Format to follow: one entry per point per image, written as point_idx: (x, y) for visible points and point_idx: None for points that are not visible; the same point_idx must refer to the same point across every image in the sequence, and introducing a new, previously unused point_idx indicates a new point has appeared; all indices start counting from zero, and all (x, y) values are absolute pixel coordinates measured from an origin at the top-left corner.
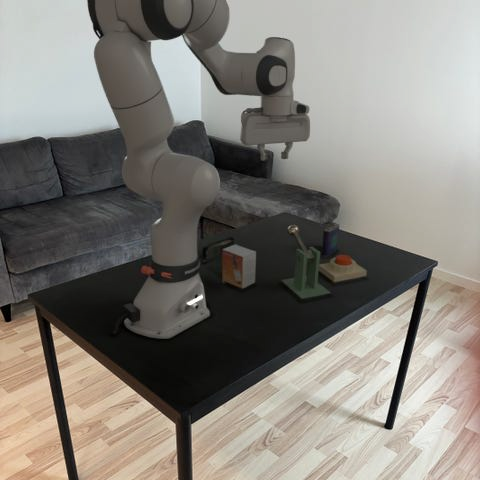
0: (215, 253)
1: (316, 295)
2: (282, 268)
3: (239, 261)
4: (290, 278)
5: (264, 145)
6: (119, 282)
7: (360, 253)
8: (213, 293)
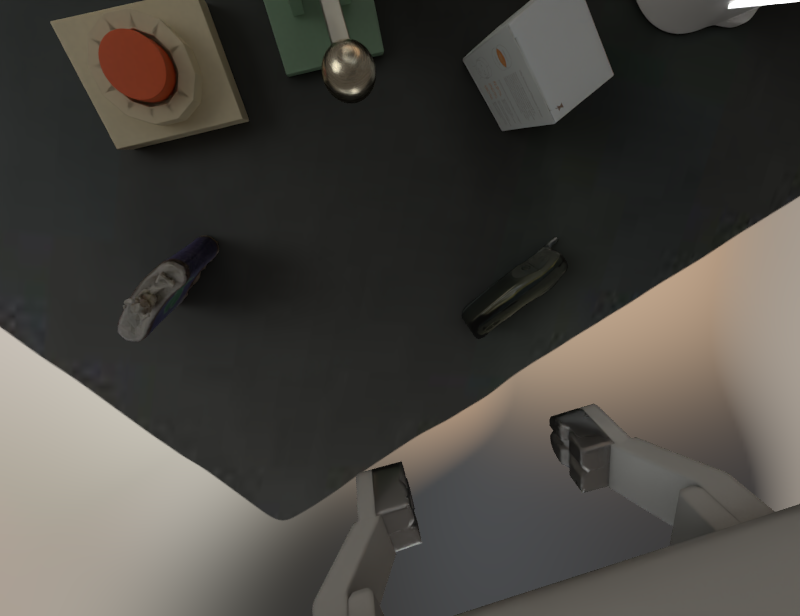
0: (526, 265)
1: None
2: (355, 174)
3: None
4: None
5: (706, 519)
6: (760, 150)
7: (78, 259)
8: None
